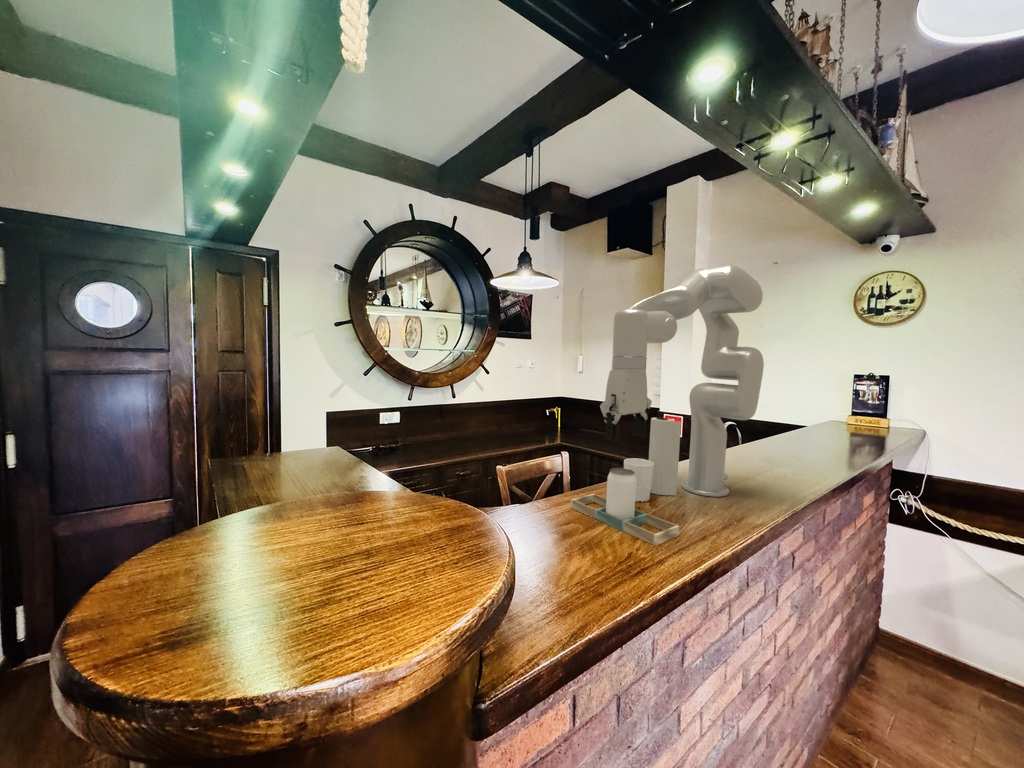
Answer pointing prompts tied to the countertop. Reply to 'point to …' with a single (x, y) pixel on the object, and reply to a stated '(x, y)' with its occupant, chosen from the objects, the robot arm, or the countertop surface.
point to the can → (621, 493)
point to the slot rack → (628, 520)
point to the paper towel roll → (664, 455)
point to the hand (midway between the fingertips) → (625, 438)
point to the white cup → (641, 476)
